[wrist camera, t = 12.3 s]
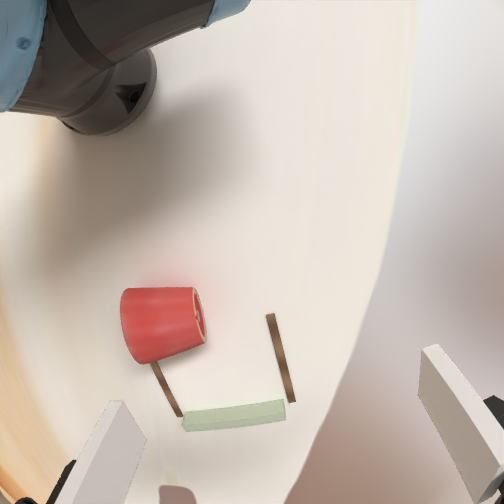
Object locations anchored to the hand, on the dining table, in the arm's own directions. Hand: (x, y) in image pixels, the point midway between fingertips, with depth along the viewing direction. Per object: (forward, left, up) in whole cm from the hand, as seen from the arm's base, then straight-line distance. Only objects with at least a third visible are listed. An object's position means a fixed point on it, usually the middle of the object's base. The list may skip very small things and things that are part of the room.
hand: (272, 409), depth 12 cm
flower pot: (+8, -11, -28) cm, 31 cm away
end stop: (+30, -13, -32) cm, 46 cm away
